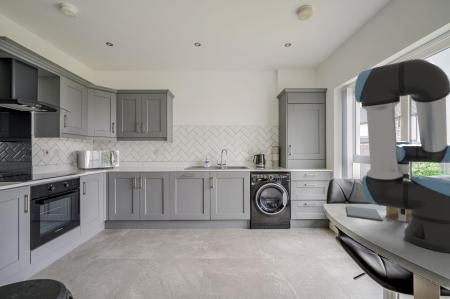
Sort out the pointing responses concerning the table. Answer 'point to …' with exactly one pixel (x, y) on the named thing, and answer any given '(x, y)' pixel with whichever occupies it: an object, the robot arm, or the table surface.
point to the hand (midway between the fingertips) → (398, 217)
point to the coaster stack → (396, 213)
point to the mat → (363, 213)
